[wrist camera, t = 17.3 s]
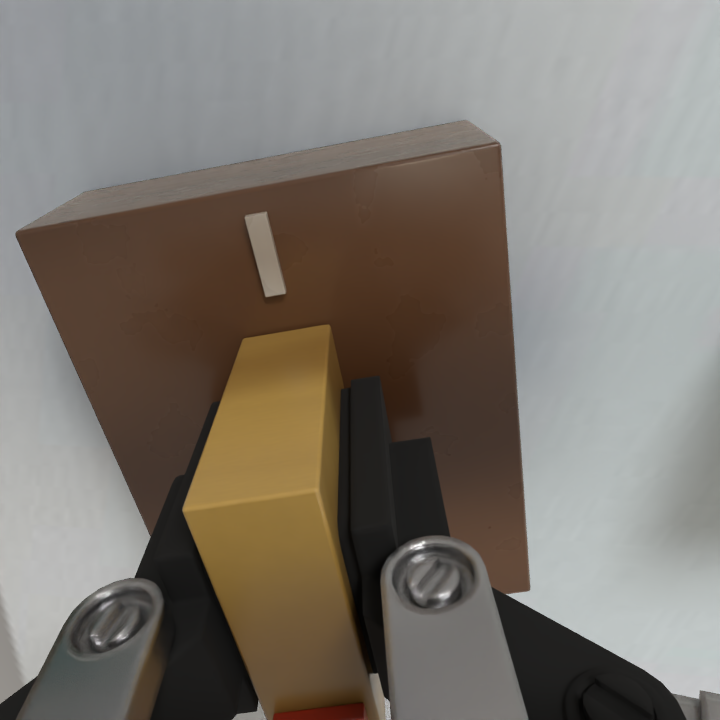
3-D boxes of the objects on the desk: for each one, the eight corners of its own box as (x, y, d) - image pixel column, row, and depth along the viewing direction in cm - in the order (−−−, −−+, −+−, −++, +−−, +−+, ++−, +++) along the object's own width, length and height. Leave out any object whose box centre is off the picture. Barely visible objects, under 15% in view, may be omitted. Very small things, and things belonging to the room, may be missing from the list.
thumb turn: (241, 337, 11) (173, 524, 7) (329, 322, 11) (318, 504, 7) (302, 543, 13) (280, 779, 9) (376, 532, 13) (388, 766, 9)
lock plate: (82, 191, 13) (7, 235, 10) (468, 118, 12) (503, 143, 9) (218, 545, 17) (192, 643, 14) (502, 504, 17) (533, 598, 14)
